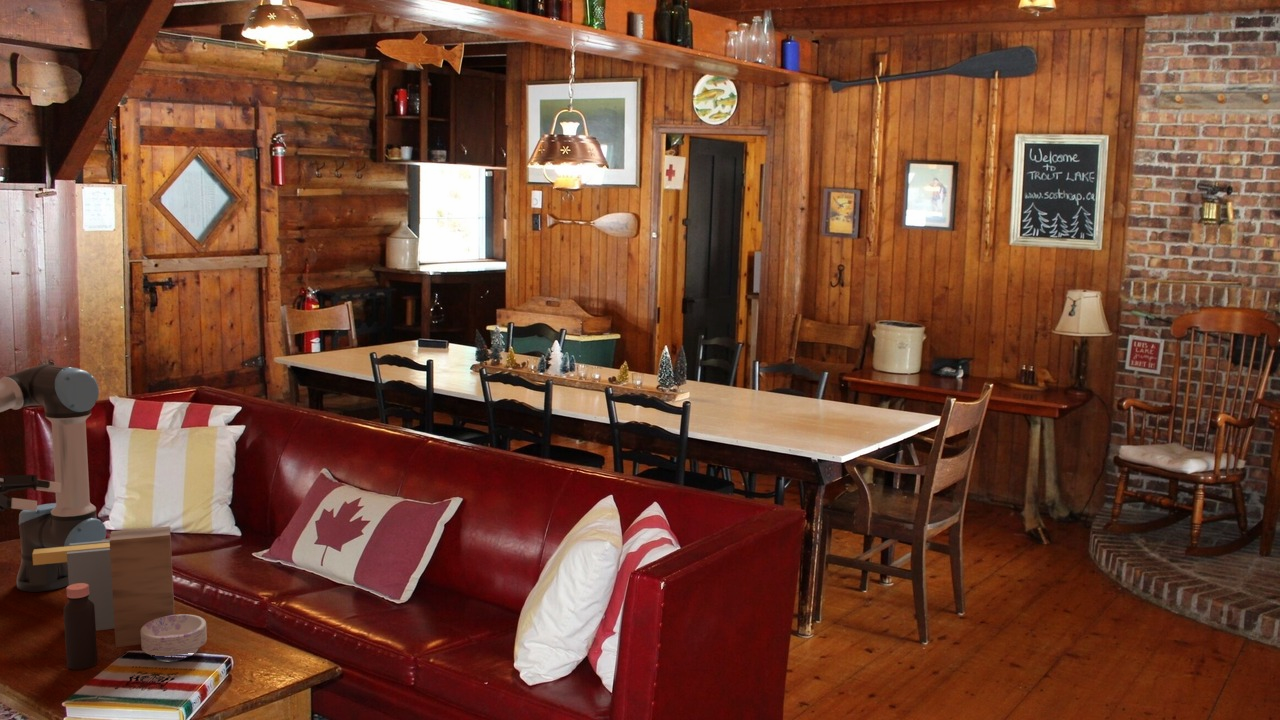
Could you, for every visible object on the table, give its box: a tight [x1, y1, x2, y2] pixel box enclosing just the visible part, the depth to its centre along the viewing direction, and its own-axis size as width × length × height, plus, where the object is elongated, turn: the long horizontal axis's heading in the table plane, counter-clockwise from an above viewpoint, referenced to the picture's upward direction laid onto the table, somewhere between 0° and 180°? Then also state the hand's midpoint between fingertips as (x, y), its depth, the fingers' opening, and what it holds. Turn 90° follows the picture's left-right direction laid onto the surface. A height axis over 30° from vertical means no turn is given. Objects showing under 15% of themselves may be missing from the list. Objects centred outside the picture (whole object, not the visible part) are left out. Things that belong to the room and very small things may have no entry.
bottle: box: [63, 583, 99, 671], centre depth 285 cm, size 7×7×20 cm
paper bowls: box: [140, 613, 208, 656], centre depth 293 cm, size 15×15×8 cm
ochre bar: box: [32, 543, 110, 565], centre depth 308 cm, size 4×24×3 cm, turn 111°
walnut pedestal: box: [109, 525, 176, 648], centre depth 301 cm, size 8×14×28 cm, turn 111°
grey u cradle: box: [67, 540, 115, 632], centre depth 311 cm, size 9×16×22 cm, turn 111°
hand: (48, 497), depth 316 cm, fingers open, 13 cm apart
